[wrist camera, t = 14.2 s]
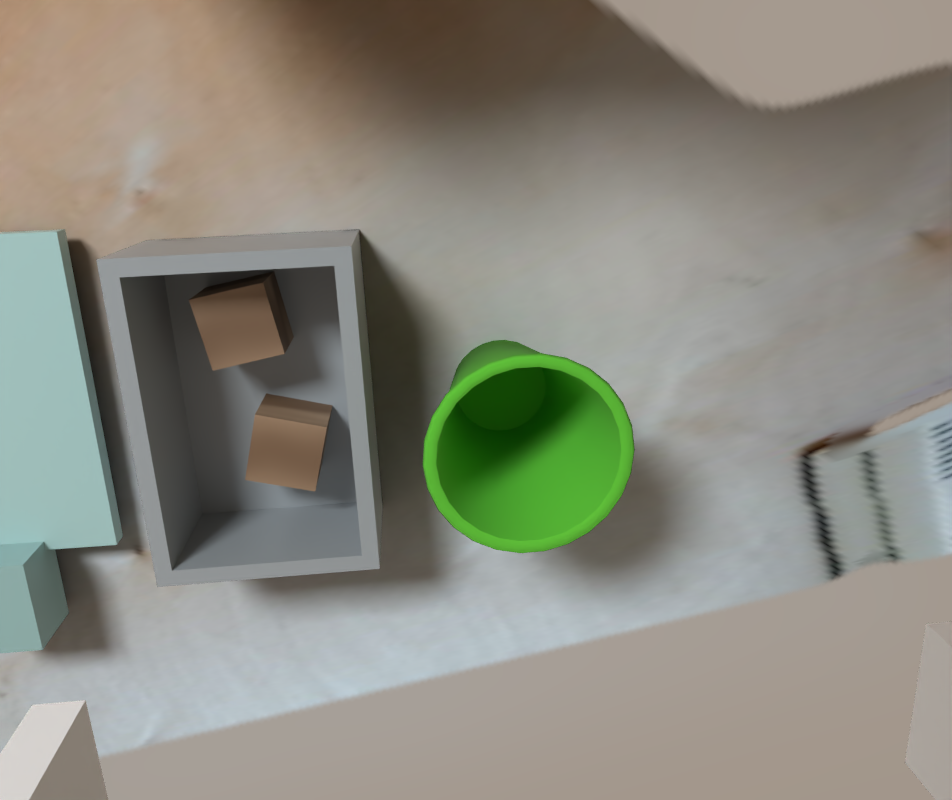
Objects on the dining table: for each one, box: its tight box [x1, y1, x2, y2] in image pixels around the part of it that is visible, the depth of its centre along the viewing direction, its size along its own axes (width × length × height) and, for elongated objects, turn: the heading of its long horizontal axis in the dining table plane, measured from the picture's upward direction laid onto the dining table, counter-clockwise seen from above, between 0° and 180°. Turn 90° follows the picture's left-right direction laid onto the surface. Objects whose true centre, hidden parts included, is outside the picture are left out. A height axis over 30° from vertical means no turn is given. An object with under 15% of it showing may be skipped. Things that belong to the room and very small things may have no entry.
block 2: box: [245, 393, 332, 491], centre depth 41 cm, size 4×4×4 cm
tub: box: [96, 229, 383, 587], centre depth 40 cm, size 16×11×7 cm
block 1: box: [189, 271, 294, 371], centre depth 39 cm, size 4×4×4 cm
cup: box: [423, 340, 634, 553], centre depth 39 cm, size 9×9×11 cm
